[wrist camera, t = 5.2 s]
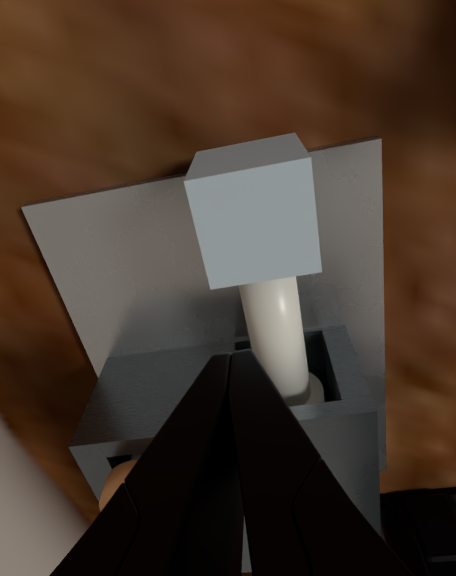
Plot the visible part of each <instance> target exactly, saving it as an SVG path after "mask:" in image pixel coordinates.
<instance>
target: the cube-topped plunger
mask: <svg viewBox="0 0 456 576" xmlns="http://www.w3.org/2000/svg"><path fill="white" fill-rule="evenodd" d="M184 185H185V189H186V193H187V197H188V201H189V205H190V209H191V213H192V217H193V221H194V225H195V229H196V233H197V237H198V241H199V245H200V249H201V254H202V258H203V262H204V266H205V270H206V274H207V278H208V282H209V286H210V290H212V289H218V288H225V287H231V286H237V285H238V286H239V291H240V295H241V300H242V305H243V310H244V315H245V319H246V324H247V329H248V334H249V338H250V343H251V348H252V351H253V352H254V354H255V355H256V357H257V358H258V360H259V361H260V363H261V364H262V366H263V368H264V369H265V371H266V372H267V374H268V375H269V377H270V378H271V380H272V381H273V383H274V384H275V386H276V388H277V389H278V391H279V392H280V394H281V395H282V397H283V398H284V400H285V401H286V403H287V404H288V406H298V405H306V404H314V403H323V402H325V399H324V390H323V386H322V384H321V382H320V380H319V379H318V378H317V377H316V376H315V375H313V374H312V373H310V372H308V365H307V358H306V350H305V342H304V334H303V327H302V319H301V311H300V304H299V296H298V288H297V281H296V276H301V275H308V274H314V273H320V272H322V266H321V256H320V245H319V235H318V224H317V214H316V203H315V193H314V182H313V172H312V161H311V156H310V155H309V153H308V152H307V150H306V149H305V147H304V146H303V144H302V143H301V141H300V140H299V138H298V137H297V135H296V133H290V134H285V135H280V136H275V137H270V138H265V139H260V140H255V141H250V142H245V143H239V144H234V145H229V146H224V147H219V148H214V149H209V150H204V151H199V152H196V154H195V157H194V159H193V161H192V163H191V166H190V168H189V170H188V173H187V175H186V177H185V179H184Z"/></svg>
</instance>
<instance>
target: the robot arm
mask: <svg viewBox="0 0 456 576" xmlns="http://www.w3.org/2000/svg"><path fill="white" fill-rule="evenodd" d="M124 481H125V483H121V484H120V486H119V487H118V489H117V490H116V491H115V493H114V494H113V496H112V497H111V499H110V500H109V501H108V503H107V504H106V505H105V507H104V508H103V509H102V511H101V512H100V513H99V515H98V516H97V517H96V519H95V520H94V522H93V523H92V524H91V526H90V527H89V528H88V529H87V531H86V532H85V533H84V534H83V536H82V537H81V538H80V539H79V541H78V542H77V543H76V544H75V545H74V547H73V548H72V549H71V551H70V552H69V553H68V554H67V555H66V557H65V558H64V559H63V560H62V562H60V564H59V565H58V566H57V567H56V568H55V570H54V571H53V572H52V573H51V574H50V576H241V575H242V553H243V530H244V517H245V525H246V533H247V540H248V548H249V555H250V563H251V571H252V576H456V489H450V490H439V491H428V492H418V493H407V494H396V495H385V496H380V523H381V536H380V535H379V534H378V533H377V532H376V530H375V529H374V528H373V527H372V526H371V524H370V523H369V522H368V521H367V519H366V518H365V517H364V516H363V514H362V513H361V512H360V511H359V509H358V508H357V507H356V506H355V504H354V503H353V502H352V501H351V499H350V498H349V496H348V495H347V493H346V492H345V491H344V489H343V488H342V486H341V485H340V484H339V482H338V481H337V479H336V478H335V476H334V475H333V473H332V472H331V470H330V469H329V467H328V466H327V464H326V463H325V461H324V460H323V459H322V458H321V455H320V454H319V452H318V451H317V449H316V448H315V446H314V445H313V443H312V441H311V440H310V438H309V437H308V435H307V434H306V432H305V431H304V429H303V428H302V426H301V425H300V423H299V421H298V420H297V418H296V417H295V415H294V414H293V412H292V411H291V409H290V408H289V406H288V404H287V403H286V401H285V400H284V398H283V397H282V395H281V394H280V392H279V391H278V389H277V388H276V386H275V384H274V383H273V381H272V380H271V378H270V377H269V375H268V374H267V372H266V371H265V369H264V368H263V366H262V364H261V363H260V361H259V360H258V358H257V357H256V355H255V354H254V352H253V351H252V350H251V349H245V350H239V351H234V352H233V353H232V354H231V353H230V352H226V353H220V354H214V355H212V356H211V357H210V359H209V360H208V361H207V363H206V364H205V366H204V367H203V369H202V370H201V371H200V373H199V374H198V376H197V377H196V378H195V380H194V381H193V383H192V384H191V386H190V387H189V388H188V390H187V391H186V393H185V394H184V395H183V397H182V398H181V400H180V401H179V403H178V404H177V405H176V407H175V408H174V410H173V411H172V412H171V414H170V415H169V417H168V418H167V420H166V421H165V422H164V424H163V425H162V427H161V428H160V429H159V431H158V432H157V434H156V435H155V437H154V438H153V439H152V441H151V442H150V444H149V445H148V446H147V448H146V449H145V451H144V452H143V454H142V455H141V456H140V458H139V459H138V461H137V462H136V463H135V465H134V466H133V468H132V469H131V470H130V472H129V473H128V475H127V476H126V478H125V479H124Z"/></svg>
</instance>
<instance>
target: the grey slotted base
mask: <svg viewBox="0 0 456 576" xmlns="http://www.w3.org/2000/svg"><path fill="white" fill-rule="evenodd" d="M307 152H308V153H309V155H310V156H311V161H312V172H313V182H314V193H315V203H316V214H317V224H318V235H319V245H320V256H321V266H322V272H320V273H314V274H308V275H301V276H296V281H297V288H298V296H299V304H300V311H301V319H302V327H303V334H304V342H305V350H306V358H307V365H308V372H310V373H312V374H313V375H315V376H316V377H317V378H318V379H319V380H320V382H321V384H322V386H323V390H324V399H325V402H323V403H314V404H306V405H298V406H289V408H290V409H291V411H292V412H293V414H294V415H295V417H296V418H297V420H298V421H299V423H300V425H301V426H302V428H303V429H304V431H305V432H306V434H307V435H308V437H309V438H310V440H311V441H312V443H313V445H314V446H315V448H316V449H317V451H318V452H319V454H320V455H321V458H322V459H323V460H324V461H325V463H326V464H327V466H328V467H329V469H330V470H331V472H332V473H333V475H334V476H335V478H336V479H337V481H338V482H339V484H340V485H341V486H342V488H343V489H344V491H345V492H346V493H347V495H348V496H349V498H350V499H351V501H352V502H353V503H354V504H355V506H356V507H357V508H358V509H359V511H360V512H361V513H362V514H363V516H364V517H365V518H366V519H367V521H368V522H369V523H370V524H371V526H372V527H373V528H374V529H375V530H376V532H377V533H378V534H379V535H380V536H381V523H380V487H379V471H384V470H386V411H385V342H384V274H383V205H382V139H381V138H380V137H378V136H374V137H369V138H364V139H359V140H354V141H348V142H343V143H338V144H333V145H327V146H322V147H317V148H312V149H307ZM187 173H188V172H187ZM187 173H181V174H176V175H171V176H166V177H160V178H155V179H150V180H145V181H140V182H134V183H129V184H124V185H119V186H113V187H108V188H103V189H98V190H93V191H87V192H82V193H77V194H72V195H66V196H61V197H56V198H51V199H46V200H40V201H35V202H30V203H26V204H25V205H23V206H22V207H21V208H22V211H23V213H24V215H25V217H26V219H27V222H28V224H29V226H30V228H31V230H32V233H33V235H34V237H35V239H36V242H37V244H38V246H39V248H40V250H41V253H42V255H43V257H44V259H45V261H46V264H47V266H48V268H49V270H50V273H51V275H52V277H53V279H54V281H55V284H56V286H57V288H58V290H59V292H60V295H61V297H62V299H63V301H64V303H65V306H66V308H67V310H68V312H69V315H70V317H71V319H72V321H73V323H74V326H75V328H76V330H77V332H78V334H79V337H80V339H81V341H82V343H83V346H84V348H85V350H86V352H87V354H88V357H89V359H90V361H91V363H92V365H93V368H94V370H95V372H96V374H97V377H98V380H97V382H96V385H95V387H94V389H93V392H92V394H91V396H90V398H89V401H88V403H87V405H86V408H85V410H84V412H83V414H82V417H81V419H80V421H79V424H78V426H77V428H76V430H75V433H74V435H73V437H72V440H71V442H70V444H69V446H68V447H69V449H70V451H71V453H72V455H73V456H74V458H75V460H76V462H77V464H78V465H79V467H80V469H81V471H82V473H83V474H84V476H85V478H86V480H87V482H88V483H89V485H90V487H91V489H92V491H93V492H94V494H95V496H96V498H97V500H98V501H99V500H100V497H101V494H102V491H103V487H104V484H105V481H106V478H107V476H108V474H109V472H110V471H111V470H112V469H113V468H115V467H116V466H118V465H119V464H121V463H124V462H127V461H130V460H131V457H132V454H141V453H143V452H144V451H145V449H146V448H147V446H148V445H149V444H150V442H151V441H152V439H153V438H154V437H155V435H156V434H157V432H158V431H159V429H160V428H161V427H162V425H163V424H164V422H165V421H166V420H167V418H168V417H169V415H170V414H171V412H172V411H173V410H174V408H175V407H176V405H177V404H178V403H179V401H180V400H181V398H182V397H183V395H184V394H185V393H186V391H187V390H188V388H189V387H190V386H191V384H192V383H193V381H194V380H195V378H196V377H197V376H198V374H199V373H200V371H201V370H202V369H203V367H204V366H205V364H206V363H207V361H208V360H209V359H210V357H211V356H212V355H214V354H220V353H226V352H230V353H231V354H232V353H233V352H234V351H239V350H245V349H251V350H252V348H251V343H250V338H249V334H248V329H247V324H246V319H245V315H244V310H243V305H242V300H241V295H240V291H239V286H238V285H237V286H231V287H225V288H218V289H212V290H210V286H209V282H208V278H207V274H206V270H205V266H204V262H203V258H202V254H201V249H200V245H199V241H198V237H197V233H196V229H195V225H194V221H193V217H192V213H191V209H190V205H189V201H188V197H187V193H186V189H185V185H184V179H185V177H186V175H187ZM246 572H252V571H251V563H250V555H249V548H248V540H247V533H246V525H245V517H244V530H243V553H242V573H246Z"/></svg>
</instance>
